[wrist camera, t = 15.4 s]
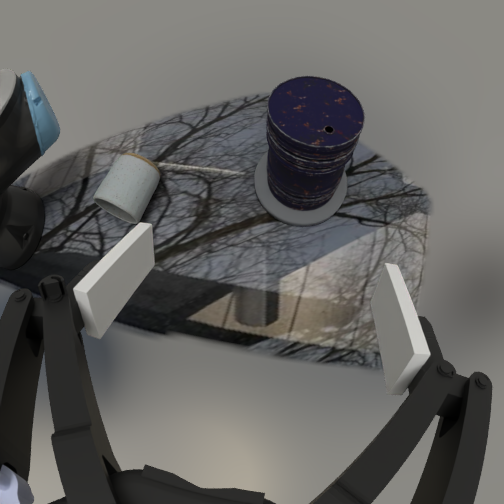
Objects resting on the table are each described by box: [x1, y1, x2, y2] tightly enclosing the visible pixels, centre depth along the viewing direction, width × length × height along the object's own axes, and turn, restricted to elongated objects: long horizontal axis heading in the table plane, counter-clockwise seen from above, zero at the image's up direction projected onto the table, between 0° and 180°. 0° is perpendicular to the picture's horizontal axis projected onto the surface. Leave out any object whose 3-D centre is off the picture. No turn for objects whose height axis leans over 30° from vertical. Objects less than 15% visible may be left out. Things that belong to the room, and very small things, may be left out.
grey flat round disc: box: [254, 151, 347, 227], centre depth 42 cm, size 13×13×2 cm
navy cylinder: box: [266, 76, 365, 211], centre depth 34 cm, size 10×10×15 cm
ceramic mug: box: [93, 153, 160, 224], centre depth 41 cm, size 11×8×8 cm
